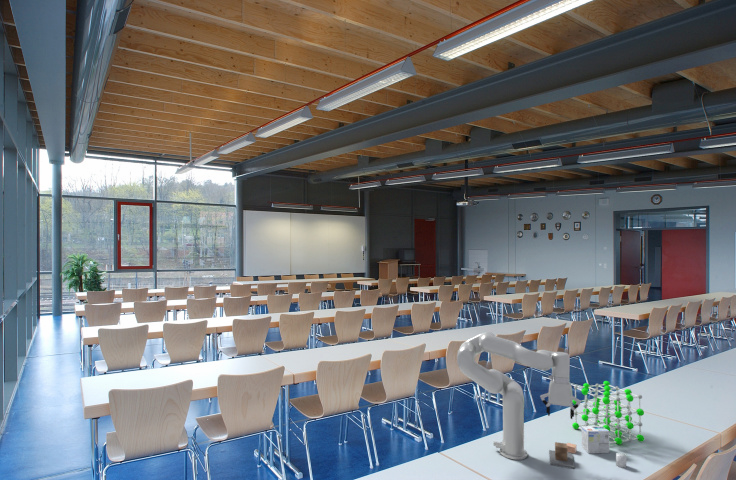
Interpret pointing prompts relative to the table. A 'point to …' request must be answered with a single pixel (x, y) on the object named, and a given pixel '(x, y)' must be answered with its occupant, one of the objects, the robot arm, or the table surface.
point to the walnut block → (560, 451)
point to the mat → (567, 464)
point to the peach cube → (571, 448)
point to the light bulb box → (595, 439)
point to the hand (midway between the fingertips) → (559, 416)
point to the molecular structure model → (608, 409)
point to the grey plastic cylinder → (621, 460)
